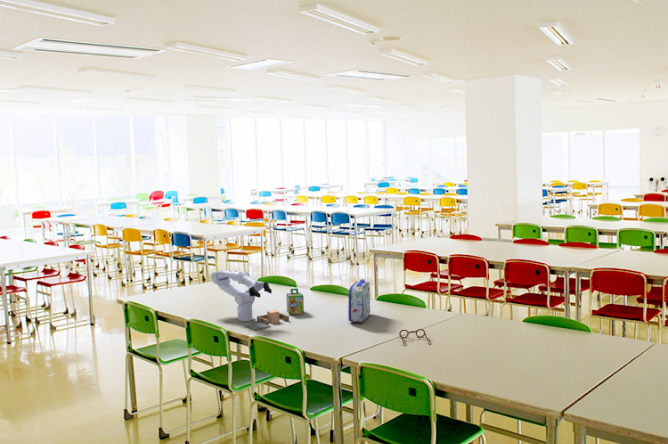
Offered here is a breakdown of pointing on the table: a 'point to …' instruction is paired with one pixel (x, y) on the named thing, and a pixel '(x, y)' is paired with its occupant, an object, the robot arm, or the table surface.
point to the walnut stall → (264, 320)
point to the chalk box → (295, 302)
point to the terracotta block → (273, 316)
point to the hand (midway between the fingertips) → (265, 293)
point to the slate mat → (257, 326)
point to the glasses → (412, 332)
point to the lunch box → (359, 301)
